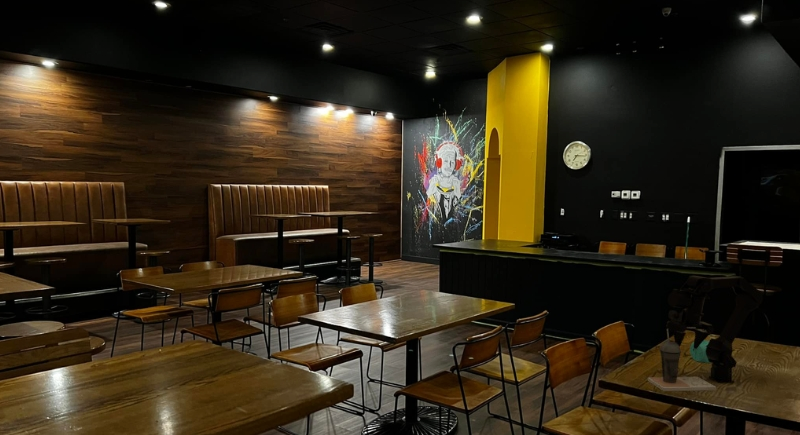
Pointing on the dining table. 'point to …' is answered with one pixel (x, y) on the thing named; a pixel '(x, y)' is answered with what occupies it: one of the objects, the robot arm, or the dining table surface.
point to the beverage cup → (670, 360)
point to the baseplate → (682, 384)
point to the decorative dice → (699, 352)
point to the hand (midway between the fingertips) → (686, 348)
